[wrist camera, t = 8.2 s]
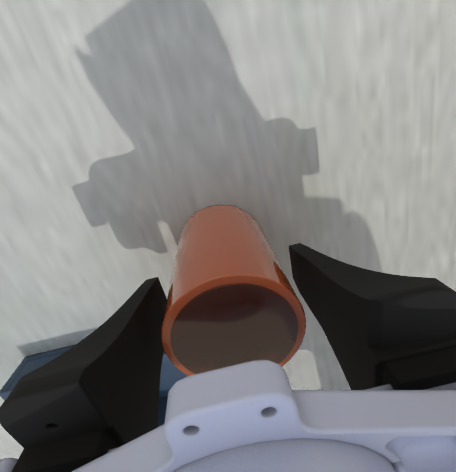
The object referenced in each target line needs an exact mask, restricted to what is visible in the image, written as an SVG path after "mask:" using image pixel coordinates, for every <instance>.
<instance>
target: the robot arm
mask: <svg viewBox="0 0 456 472" xmlns="http://www.w3.org/2000/svg"><path fill="white" fill-rule="evenodd" d="M289 252H290V259H291V267H292V274H293V279H294V281H295V283H296V285H297V288H298V290H299V292H300V294H301V295H302V297H303V298H304V300H305V302H306V303H307V305H308V306H309V308H310V309H311V311H312V313H313V314H314V316H315V317H316V319H317V320H318V322H319V324H320V325H321V327H322V329H323V331H324V332H325V334H326V336H327V339H328V341H329V343H330V345H331V347H332V349H333V351H334V353H335V355H336V357H337V359H338V361H339V363H340V366H341V368H342V370H343V372H344V374H345V377H346V379H347V381H348V383H349V386H350V388H351V390H292V389H291V386H290V383H289V380H288V377H287V374H286V372H285V371H284V369H283V368H282V366H281V365H279V364H277V363H274V362H272V361H269V360H255V361H250V362H245V363H241V364H237V365H233V366H228V367H224V368H220V369H216V370H211V371H207V372H203V373H199V374H195V375H190V376H188V377H186V378H184V379H181V380H179V381H177V382H176V383H175V384H174V385H173V387H172V388H171V389H170V390H169V392H168V400H167V408H166V416H165V424H164V425H162V426H160V427H158V408H159V389H160V376H161V366H162V360H163V354H164V347H163V344H162V338H161V330H162V325H163V320H164V315H165V309H166V304H167V299H166V296H165V294H164V291H163V289H162V286H161V284H160V281H159V279H158V277H156V278H152V279H148V280H146V281H145V282H144V283H143V284H142V285H141V286H140V287H139V288H138V289H137V290H136V291H135V293H134V294H133V295H132V296H131V297H130V298H129V299H128V300H127V301H126V302H125V303H124V304H123V305H122V306H121V307H120V308H119V309H118V310H117V311H116V312H115V313H114V314H113V315H112V316H111V317H110V318H109V319H108V320H107V321H106V322H105V323H104V324H102V325H101V326H100V327H99V328H98V329H96V330H95V331H94V332H93V333H91V334H90V335H89V336H87V337H86V338H85V339H83V340H82V341H81V342H79V343H78V344H76V345H75V346H74V347H72V348H71V349H69V350H68V351H66V352H64V353H63V354H61V355H60V356H58V357H56V358H55V359H53V360H51V361H50V362H48V363H46V364H44V365H43V366H41V367H39V368H37V369H35V370H34V371H32V372H30V373H28V374H26V375H24V376H22V377H21V378H20V380H19V381H18V383H17V384H16V386H15V387H14V388H13V390H12V391H11V393H10V394H9V396H8V397H7V398H6V400H5V401H4V403H3V404H2V406H1V407H0V424H1V425H2V426H3V428H4V429H5V430H6V431H7V432H8V433H9V434H10V435H11V436H12V437H13V438H14V439H15V440H16V441H17V442H18V443H19V444H20V445H21V446H22V447H24V450H23V452H22V454H21V455H20V457H19V459H15V458H5V459H1V460H0V472H456V292H455V291H454V290H452V289H451V288H449V287H448V286H446V285H445V284H443V283H442V282H440V281H439V280H437V279H436V278H422V277H408V276H400V275H392V274H386V273H381V272H376V271H371V270H367V269H363V268H359V267H356V266H352V265H349V264H346V263H343V262H341V261H338V260H335V259H333V258H331V257H328V256H326V255H324V254H322V253H319V252H317V251H315V250H313V249H311V248H309V247H307V246H305V245H303V244H301V243H298V244H294V245H290V246H289Z"/></svg>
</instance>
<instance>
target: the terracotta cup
mask: <svg viewBox="0 0 456 472" xmlns="http://www.w3.org/2000/svg"><path fill="white" fill-rule="evenodd" d="M305 328H306V318H305V313H304V310H303V307H302V305H301V303H300V301H299V299H298V297H297V296H296V294H295V292H294V290H293V288H292V286H291V284H290V283H289V281H288V279H287V277H286V275H285V273H284V271H283V270H282V268H281V266H280V264H279V262H278V260H277V259H276V257H275V255H274V253H273V251H272V249H271V247H270V246H269V244H268V242H267V240H266V238H265V236H264V234H263V233H262V231H261V229H260V227H259V225H258V224H257V222H256V221H255V219H254V218H253V217H252V216H251V215H250V214H248V213H247V212H245V211H244V210H242V209H240V208H237V207H234V206H229V205H215V206H210V207H207V208H204V209H202V210H200V211H198V212H197V213H195V214H194V215H193V216H192V217H190V219H189V220H188V221H187V222H186V223H185V225H184V227H183V229H182V231H181V234H180V237H179V243H178V248H177V253H176V258H175V263H174V268H173V273H172V279H171V284H170V289H169V294H168V299H167V304H166V309H165V315H164V320H163V325H162V330H161V338H162V344H163V347H164V350H165V353H166V355H167V356H168V358H169V360H170V361H171V362H172V363H173V365H174V366H176V367H177V368H178V369H179V370H180V371H182V372H183V373H184V374H186V375H188V376H190V375H195V374H199V373H203V372H207V371H211V370H216V369H220V368H224V367H228V366H233V365H237V364H241V363H245V362H250V361H255V360H269V361H272V362H274V363H277V364H279V365H281V366H283V365H285V364H286V363H287V362H288V361H289V360H290V359H291V358H292V357H293V356H294V354H295V353H296V352H297V350H298V349H299V347H300V345H301V343H302V341H303V338H304V334H305Z"/></svg>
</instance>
